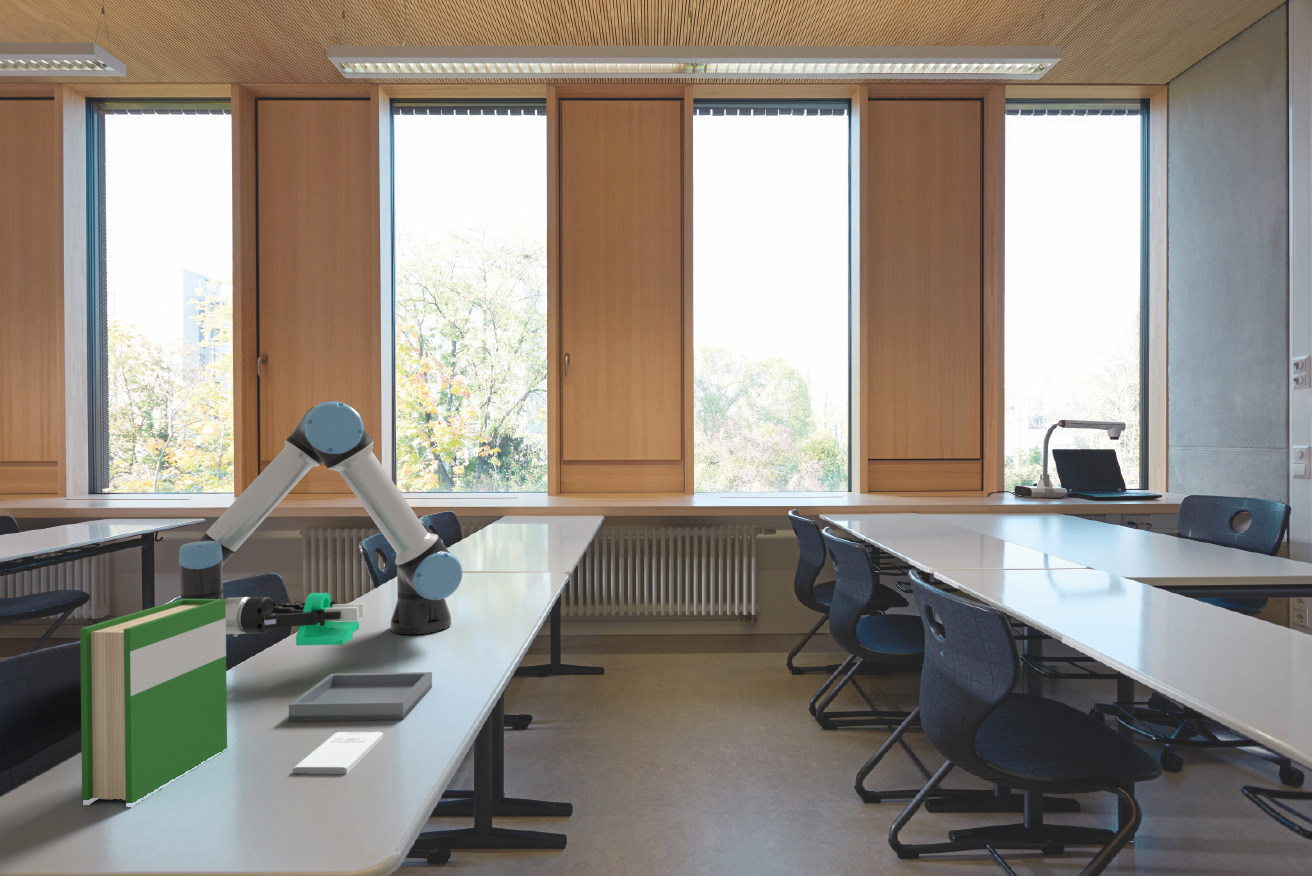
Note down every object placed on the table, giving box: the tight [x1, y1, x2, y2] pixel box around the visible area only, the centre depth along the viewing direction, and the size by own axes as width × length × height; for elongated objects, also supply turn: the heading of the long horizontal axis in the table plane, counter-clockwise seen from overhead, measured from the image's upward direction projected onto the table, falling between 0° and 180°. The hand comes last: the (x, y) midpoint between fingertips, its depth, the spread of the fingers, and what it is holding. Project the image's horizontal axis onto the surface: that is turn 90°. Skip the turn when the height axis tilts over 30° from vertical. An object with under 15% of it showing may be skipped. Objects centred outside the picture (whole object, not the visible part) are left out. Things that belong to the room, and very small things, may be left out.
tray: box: [288, 671, 433, 723], centre depth 129 cm, size 16×20×3 cm
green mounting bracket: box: [295, 592, 360, 646], centre depth 146 cm, size 12×8×10 cm, turn 178°
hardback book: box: [79, 599, 228, 803], centre depth 102 cm, size 18×7×24 cm, turn 174°
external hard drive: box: [292, 731, 384, 775], centre depth 108 cm, size 2×8×12 cm
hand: (360, 612), depth 146 cm, fingers closed on green mounting bracket, 2 cm apart
